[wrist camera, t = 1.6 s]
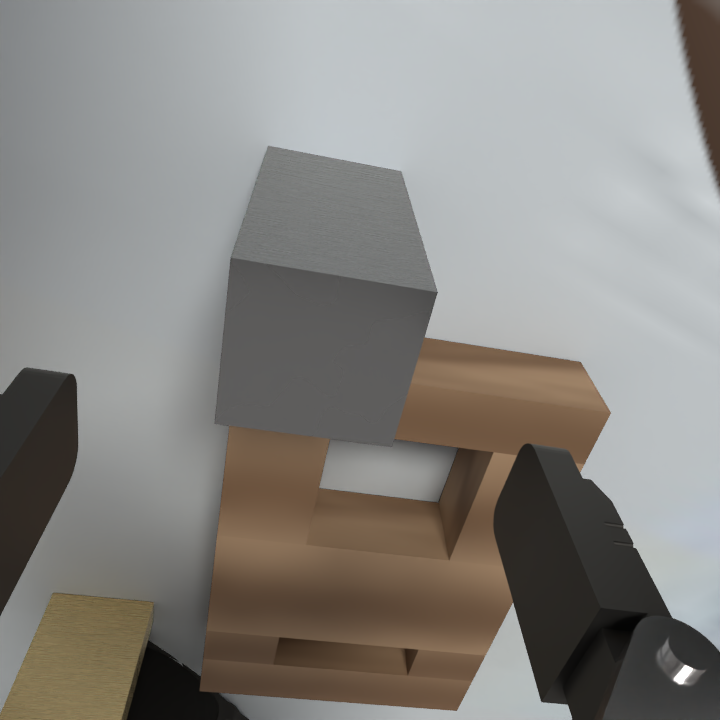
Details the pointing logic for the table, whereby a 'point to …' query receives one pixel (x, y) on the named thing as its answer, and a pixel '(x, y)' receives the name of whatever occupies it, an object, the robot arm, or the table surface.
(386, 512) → the bore block
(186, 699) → the sunglasses
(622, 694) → the robot arm
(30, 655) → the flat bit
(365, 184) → the square bit
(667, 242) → the table surface
